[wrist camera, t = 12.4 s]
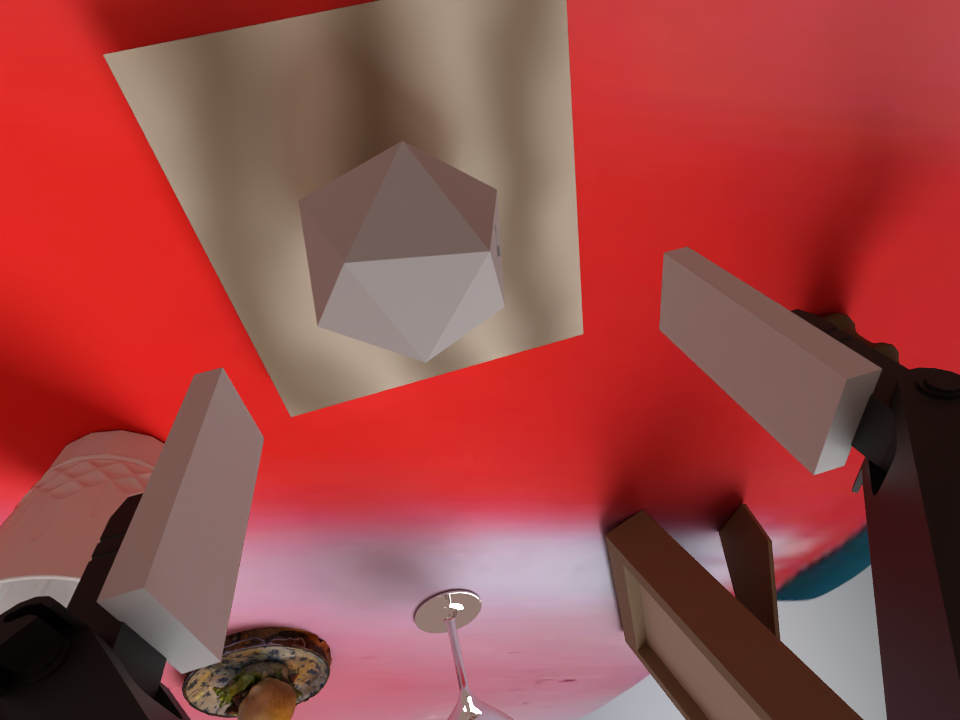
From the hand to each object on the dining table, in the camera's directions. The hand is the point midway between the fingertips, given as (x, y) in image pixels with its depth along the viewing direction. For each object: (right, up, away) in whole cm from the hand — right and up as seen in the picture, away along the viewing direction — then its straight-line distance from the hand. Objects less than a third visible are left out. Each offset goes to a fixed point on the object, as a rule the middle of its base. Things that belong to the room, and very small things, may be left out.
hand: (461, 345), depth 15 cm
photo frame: (+21, -21, +37) cm, 48 cm away
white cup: (-21, -7, +15) cm, 27 cm away
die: (-3, +6, +10) cm, 12 cm away
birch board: (-4, +7, +11) cm, 14 cm away
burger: (-19, -28, +30) cm, 45 cm away
